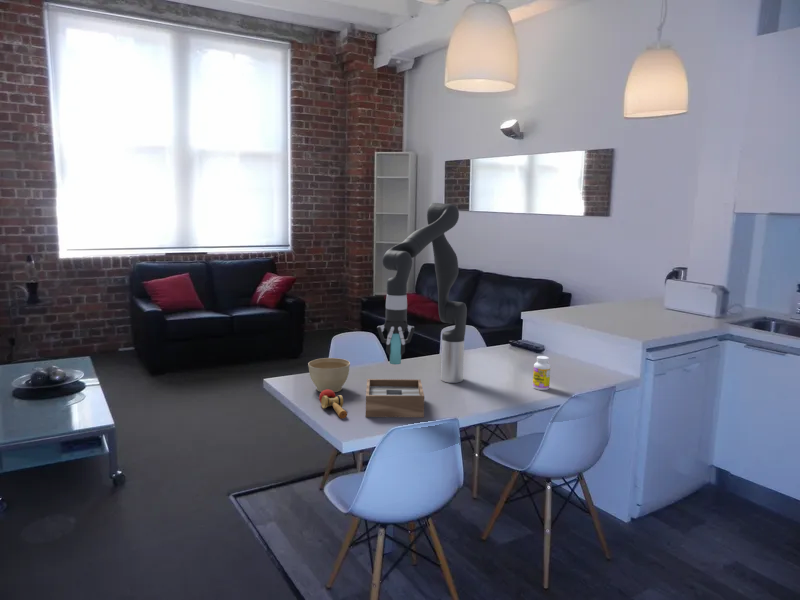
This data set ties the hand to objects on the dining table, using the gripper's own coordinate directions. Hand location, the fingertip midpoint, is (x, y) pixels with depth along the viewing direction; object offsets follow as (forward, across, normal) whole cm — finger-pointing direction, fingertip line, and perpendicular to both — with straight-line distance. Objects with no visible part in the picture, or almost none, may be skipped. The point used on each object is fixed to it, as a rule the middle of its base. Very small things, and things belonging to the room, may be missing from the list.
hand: (395, 354), depth 214 cm
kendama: (+20, +21, +5) cm, 30 cm away
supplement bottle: (+19, -60, -23) cm, 67 cm away
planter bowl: (+20, +25, -18) cm, 37 cm away
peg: (+3, 0, 0) cm, 3 cm away
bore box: (+19, 0, +2) cm, 19 cm away
